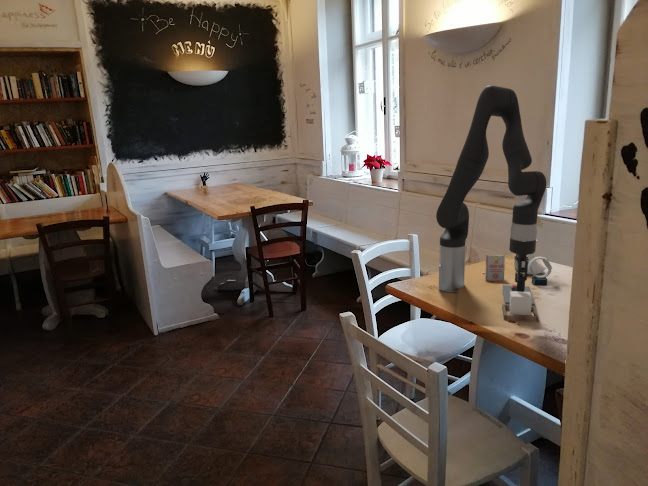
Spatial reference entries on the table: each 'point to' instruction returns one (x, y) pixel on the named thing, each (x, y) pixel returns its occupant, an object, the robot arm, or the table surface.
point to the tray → (520, 317)
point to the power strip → (508, 288)
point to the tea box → (495, 268)
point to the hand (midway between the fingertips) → (519, 286)
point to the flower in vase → (535, 265)
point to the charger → (520, 303)
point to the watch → (540, 279)
